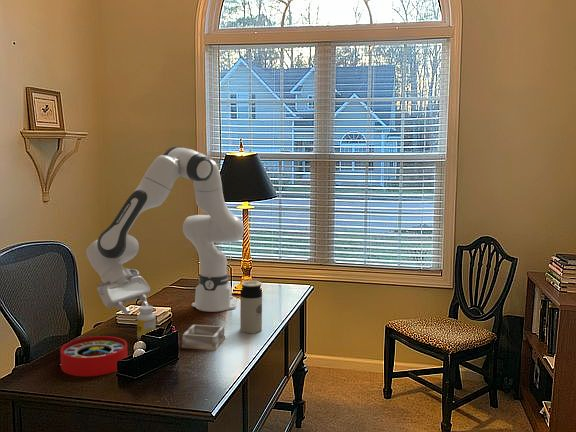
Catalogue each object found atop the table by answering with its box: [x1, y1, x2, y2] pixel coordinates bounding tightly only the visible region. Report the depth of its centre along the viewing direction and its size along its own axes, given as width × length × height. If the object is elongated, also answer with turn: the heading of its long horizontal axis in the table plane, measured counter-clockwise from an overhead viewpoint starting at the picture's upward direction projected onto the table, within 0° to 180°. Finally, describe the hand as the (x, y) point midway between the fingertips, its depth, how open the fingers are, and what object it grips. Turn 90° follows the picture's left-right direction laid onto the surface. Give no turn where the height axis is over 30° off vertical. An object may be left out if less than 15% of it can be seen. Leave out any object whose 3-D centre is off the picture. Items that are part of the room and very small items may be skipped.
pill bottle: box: [136, 305, 157, 341], centre depth 211 cm, size 6×6×12 cm
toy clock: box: [60, 335, 129, 377], centre depth 188 cm, size 20×6×20 cm
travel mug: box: [239, 280, 263, 334], centre depth 222 cm, size 8×8×18 cm
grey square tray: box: [181, 324, 226, 351], centre depth 208 cm, size 12×12×4 cm
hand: (137, 309), depth 212 cm, fingers open, 8 cm apart
